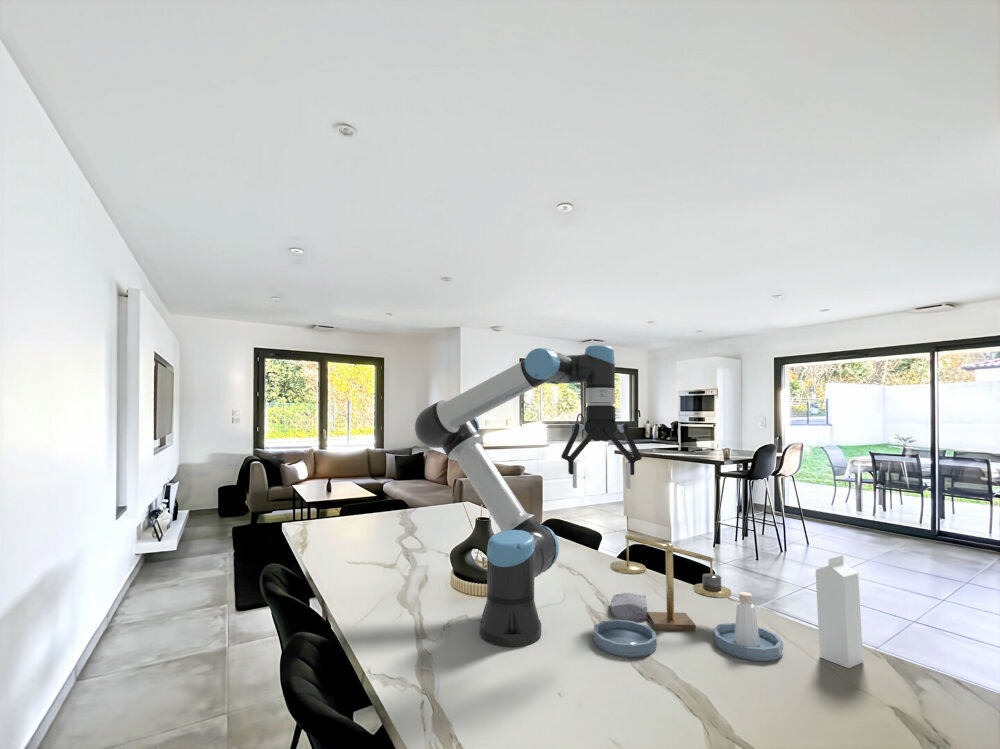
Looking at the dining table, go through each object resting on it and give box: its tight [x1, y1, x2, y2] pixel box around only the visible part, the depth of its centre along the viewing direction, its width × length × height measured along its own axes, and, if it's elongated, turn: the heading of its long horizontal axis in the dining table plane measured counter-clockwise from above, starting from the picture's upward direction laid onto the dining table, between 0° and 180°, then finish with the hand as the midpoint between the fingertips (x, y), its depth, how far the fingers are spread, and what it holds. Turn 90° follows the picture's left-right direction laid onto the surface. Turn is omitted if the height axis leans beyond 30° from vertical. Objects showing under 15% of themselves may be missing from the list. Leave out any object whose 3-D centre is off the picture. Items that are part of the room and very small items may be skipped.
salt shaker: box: [734, 591, 760, 647], centre depth 116 cm, size 5×5×11 cm
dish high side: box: [593, 619, 657, 659], centre depth 118 cm, size 14×14×3 cm
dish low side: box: [712, 622, 784, 663], centre depth 116 cm, size 14×14×3 cm
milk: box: [815, 554, 864, 669], centre depth 111 cm, size 6×6×22 cm
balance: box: [609, 534, 732, 632], centre depth 130 cm, size 30×9×22 cm, turn 87°
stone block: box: [609, 592, 648, 621], centre depth 138 cm, size 12×5×10 cm
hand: (601, 488), depth 129 cm, fingers open, 13 cm apart
